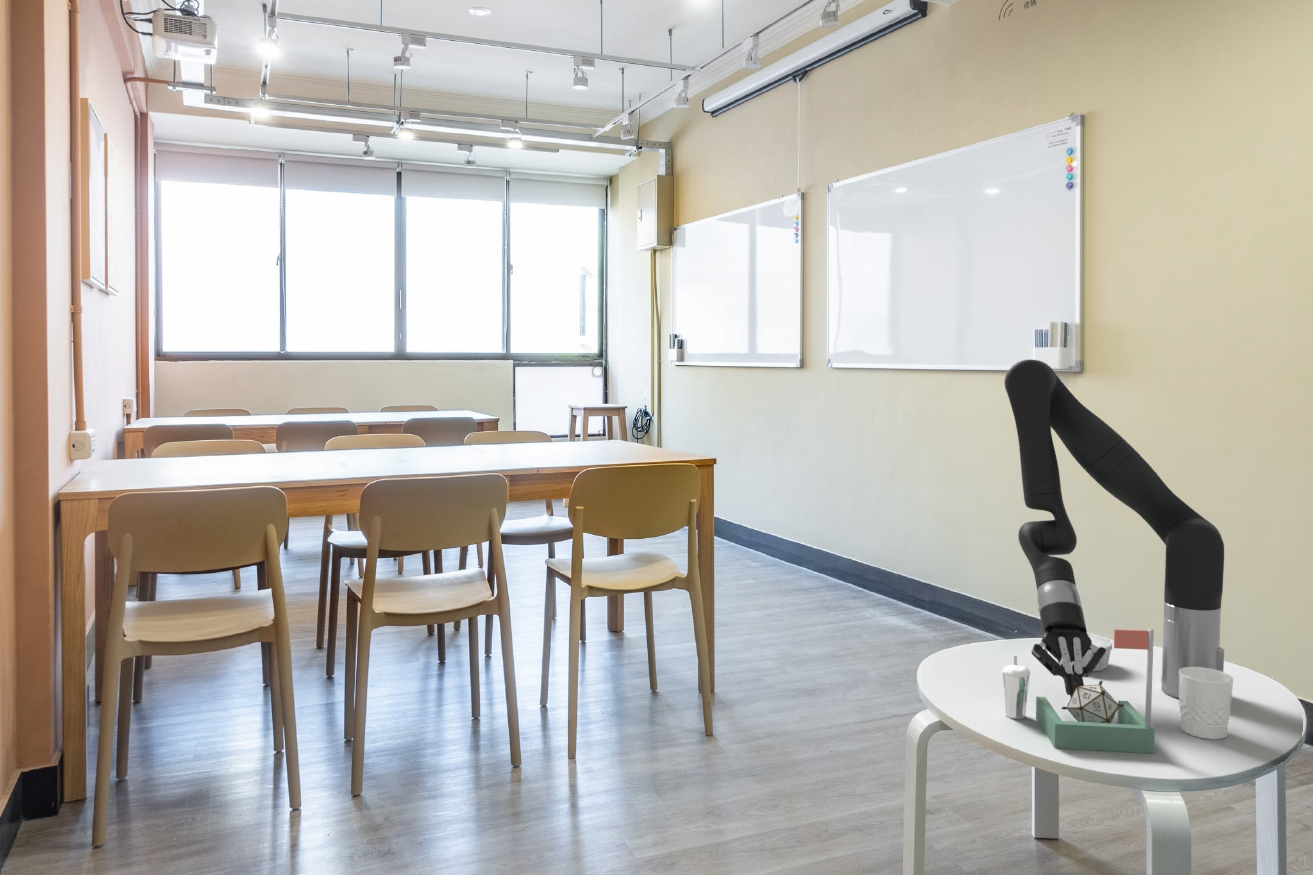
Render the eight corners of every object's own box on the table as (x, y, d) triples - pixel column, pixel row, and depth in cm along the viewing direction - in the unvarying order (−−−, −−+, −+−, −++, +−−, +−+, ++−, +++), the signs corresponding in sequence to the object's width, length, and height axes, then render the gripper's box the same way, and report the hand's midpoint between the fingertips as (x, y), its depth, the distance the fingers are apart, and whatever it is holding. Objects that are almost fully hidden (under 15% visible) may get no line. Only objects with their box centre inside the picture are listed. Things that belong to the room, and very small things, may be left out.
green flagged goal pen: (1126, 723, 156) (1130, 610, 155) (1153, 753, 144) (1157, 631, 142) (1035, 718, 159) (1038, 607, 157) (1054, 747, 146) (1057, 627, 145)
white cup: (1231, 745, 147) (1233, 685, 146) (1175, 735, 151) (1177, 677, 150) (1230, 728, 153) (1233, 671, 153) (1177, 719, 158) (1179, 664, 157)
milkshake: (1028, 711, 162) (1029, 657, 161) (1030, 722, 157) (1031, 666, 156) (1001, 708, 164) (1002, 654, 163) (1002, 719, 159) (1003, 663, 158)
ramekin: (1042, 664, 188) (1043, 640, 187) (1065, 653, 195) (1066, 629, 195) (1098, 678, 179) (1099, 652, 179) (1119, 665, 187) (1120, 640, 187)
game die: (1091, 745, 156) (1109, 693, 159) (1122, 748, 148) (1140, 692, 151) (1046, 720, 156) (1064, 668, 159) (1074, 721, 148) (1093, 666, 151)
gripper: (1027, 598, 168) (1040, 685, 157) (1102, 601, 166) (1122, 689, 155) (1020, 618, 174) (1033, 703, 163) (1093, 621, 171) (1111, 708, 160)
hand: (1076, 696), depth 159 cm, fingers closed
